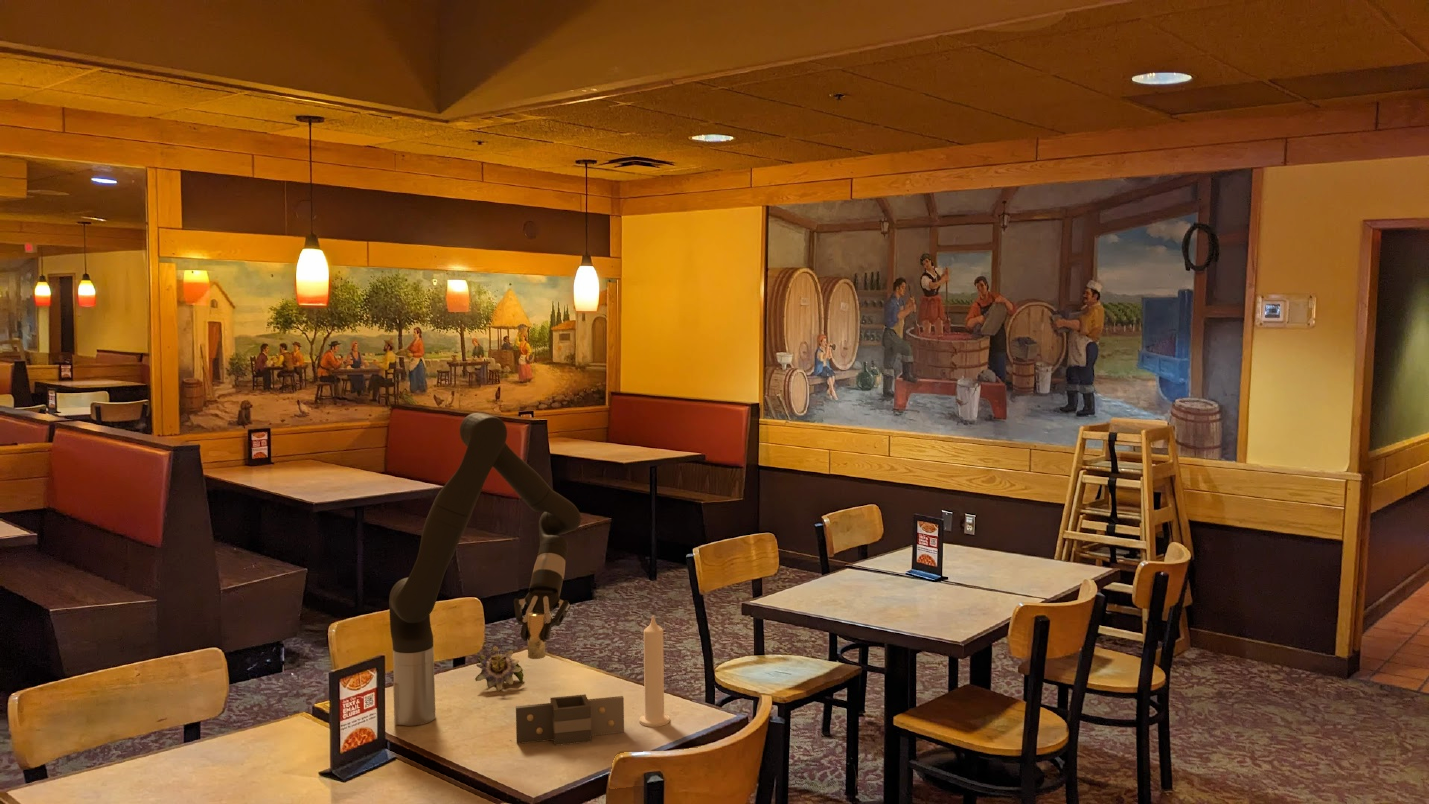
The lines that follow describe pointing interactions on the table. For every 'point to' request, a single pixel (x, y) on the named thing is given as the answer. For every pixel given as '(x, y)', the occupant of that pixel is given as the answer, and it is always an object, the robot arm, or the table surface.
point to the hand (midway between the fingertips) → (534, 639)
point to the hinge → (569, 719)
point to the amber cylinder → (535, 635)
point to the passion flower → (498, 668)
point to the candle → (654, 677)
